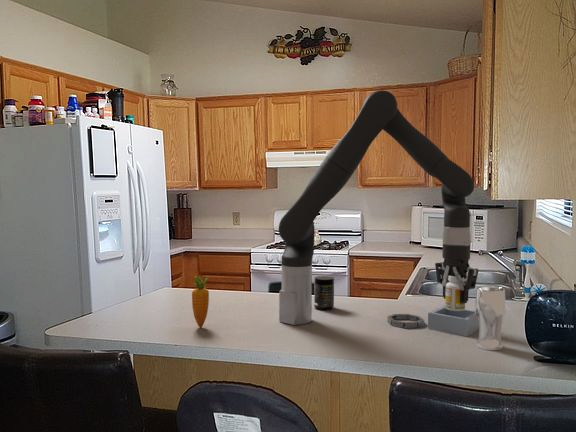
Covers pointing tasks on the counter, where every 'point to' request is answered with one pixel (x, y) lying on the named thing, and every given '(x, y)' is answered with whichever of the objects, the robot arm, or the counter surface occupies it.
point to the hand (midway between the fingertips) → (455, 300)
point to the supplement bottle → (453, 295)
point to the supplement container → (324, 292)
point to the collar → (393, 321)
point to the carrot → (200, 301)
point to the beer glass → (490, 316)
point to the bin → (453, 321)
